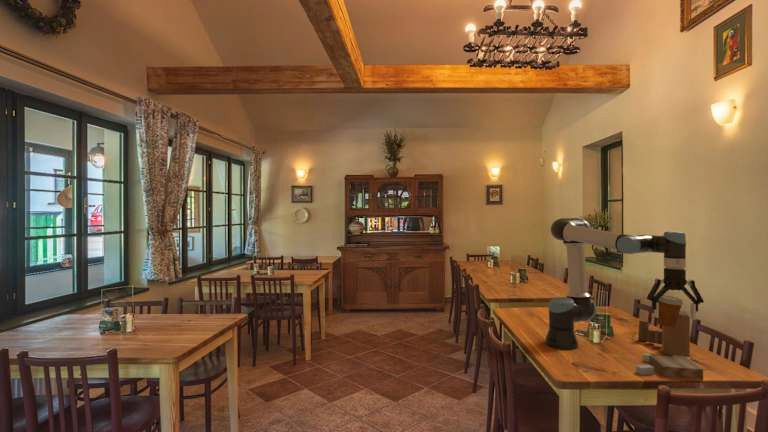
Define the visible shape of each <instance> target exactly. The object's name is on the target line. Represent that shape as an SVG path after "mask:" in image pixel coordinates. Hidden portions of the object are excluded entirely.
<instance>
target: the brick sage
mask: <svg viewBox="0 0 768 432" xmlns="http://www.w3.org/2000/svg"><path fill="white" fill-rule="evenodd" d="M650 355H652V354H650V353H647V352H645V353H643V354H642V360H643V362H647V363H650Z"/></svg>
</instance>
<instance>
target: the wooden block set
mask: <svg viewBox="0 0 768 432" xmlns="http://www.w3.org/2000/svg"><path fill="white" fill-rule="evenodd" d="M649 327H650V322H649V321H648V320H643V319H639V321H638V333H637V335H638V337H637V340H638V341H640V342H641V341H642V342H648V343H650V344H657V345H662V330H657V329H656V330H653V329H649Z"/></svg>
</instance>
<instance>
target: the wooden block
mask: <svg viewBox="0 0 768 432" xmlns="http://www.w3.org/2000/svg"><path fill="white" fill-rule="evenodd" d="M690 319H691V318H690V314H689V313H688V312H687V311H685V310H680V312H679V315H678V319H677V322H676V325H675V327H674V328H671V327H665V326H661V331H662V344H661V348H662V354H663V355H664V356H673V355H679V356H684V357H690V356H691V355H690V354H691V351H690V350H691V349H690V347H691V346H690V344H691V341H690V338H691V336H690V335H691V334H690V333H691V331H690V330H691V329H690V328H691V325H690V324H691V323H690V321H691V320H690ZM690 358H691V357H690Z"/></svg>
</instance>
